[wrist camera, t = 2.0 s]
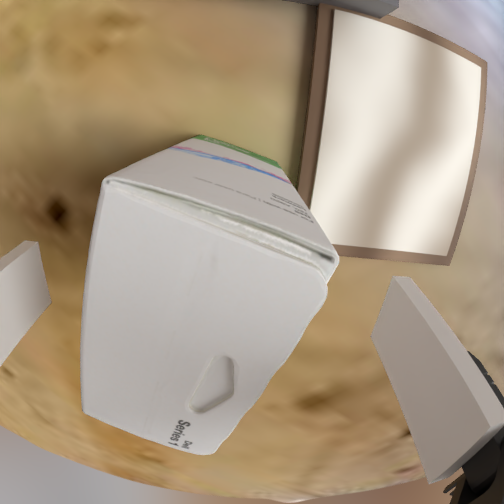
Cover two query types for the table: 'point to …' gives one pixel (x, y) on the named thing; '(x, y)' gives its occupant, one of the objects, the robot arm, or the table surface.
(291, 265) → the ink box
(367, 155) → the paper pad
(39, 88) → the table surface
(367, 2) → the button housing
